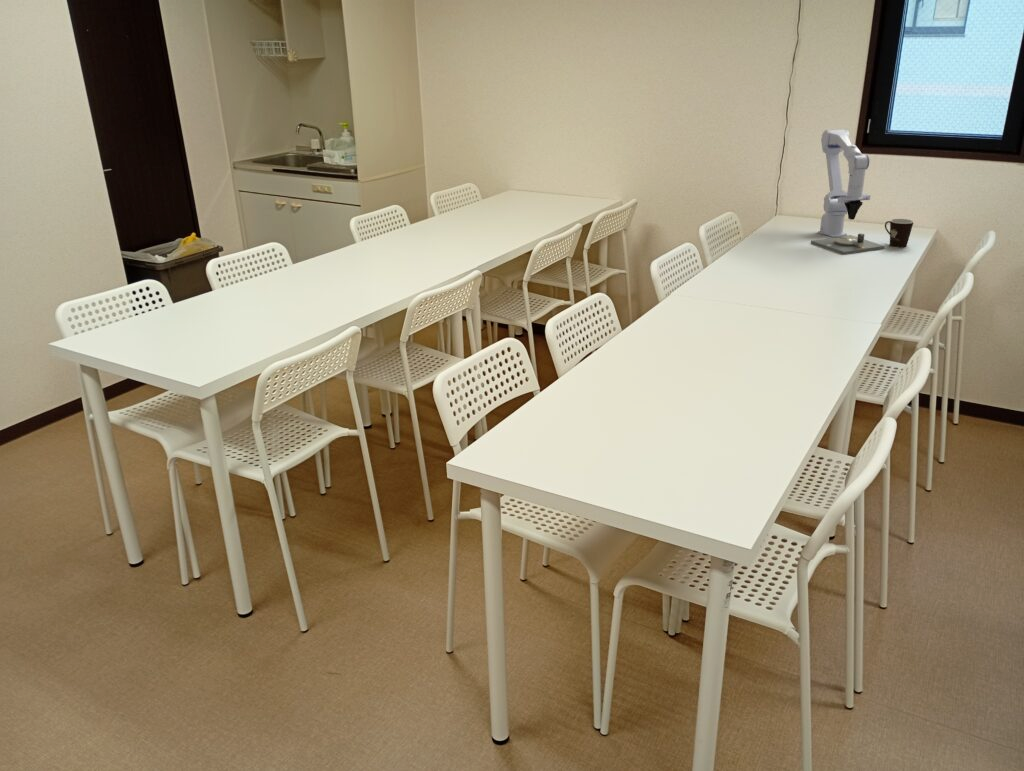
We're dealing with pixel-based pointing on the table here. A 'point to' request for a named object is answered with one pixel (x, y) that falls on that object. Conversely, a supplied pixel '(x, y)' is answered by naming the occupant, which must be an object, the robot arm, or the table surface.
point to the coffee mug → (899, 232)
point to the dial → (849, 240)
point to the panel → (844, 250)
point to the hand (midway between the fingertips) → (851, 219)
